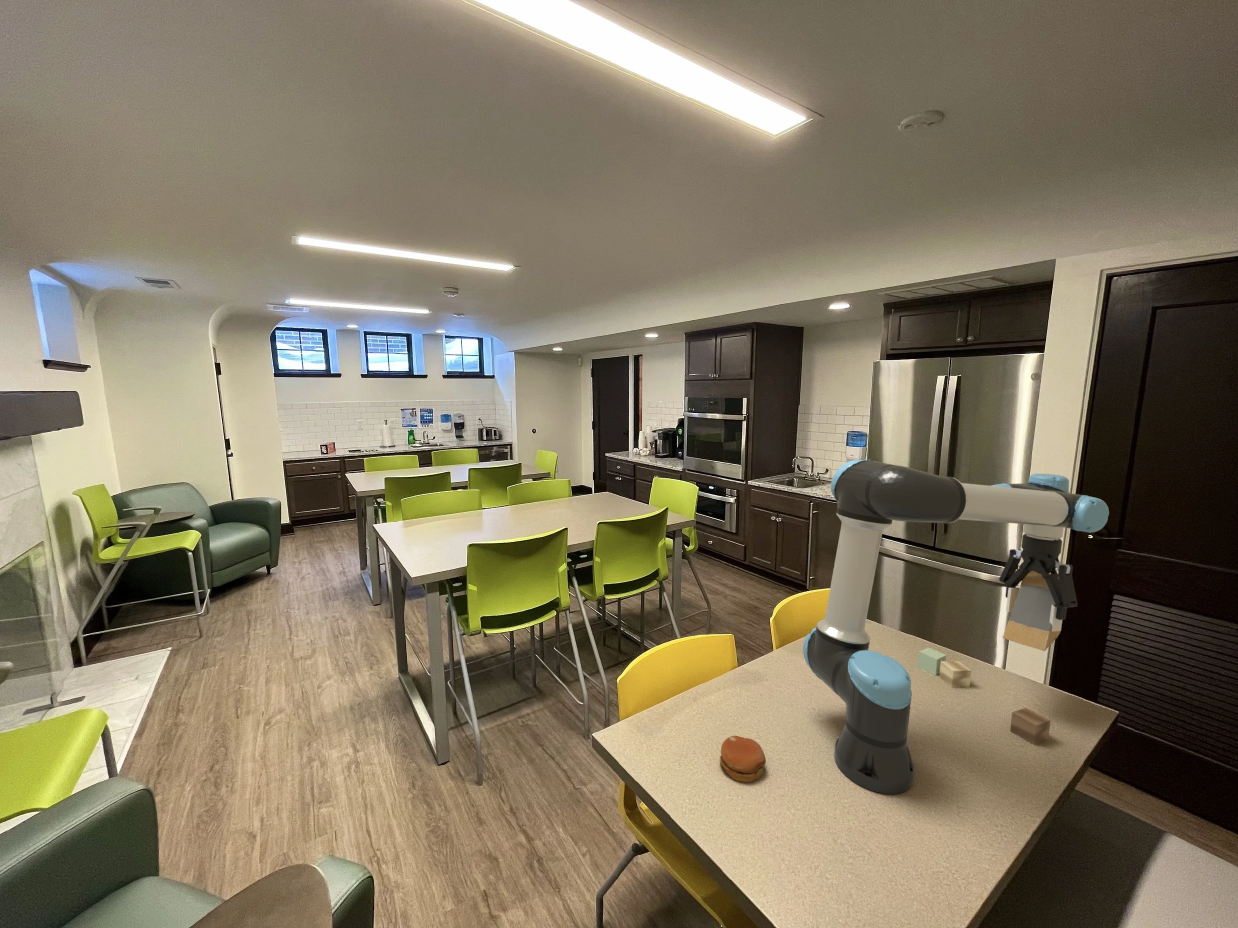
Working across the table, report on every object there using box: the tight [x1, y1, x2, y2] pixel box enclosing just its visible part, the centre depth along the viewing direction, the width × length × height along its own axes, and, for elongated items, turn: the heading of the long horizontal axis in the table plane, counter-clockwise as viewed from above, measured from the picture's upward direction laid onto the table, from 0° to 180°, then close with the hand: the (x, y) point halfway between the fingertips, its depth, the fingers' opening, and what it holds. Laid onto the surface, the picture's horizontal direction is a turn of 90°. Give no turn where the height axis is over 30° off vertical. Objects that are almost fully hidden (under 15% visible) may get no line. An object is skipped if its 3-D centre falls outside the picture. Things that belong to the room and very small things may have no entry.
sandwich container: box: [1002, 571, 1061, 652], centre depth 122 cm, size 9×15×15 cm, turn 127°
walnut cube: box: [1009, 707, 1051, 746], centre depth 114 cm, size 5×5×5 cm
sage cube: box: [917, 647, 947, 676], centre depth 142 cm, size 5×5×5 cm
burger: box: [719, 735, 767, 783], centre depth 104 cm, size 10×9×5 cm
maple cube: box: [938, 660, 972, 689], centre depth 135 cm, size 5×5×5 cm
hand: (1032, 620), depth 124 cm, fingers closed on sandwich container, 10 cm apart
